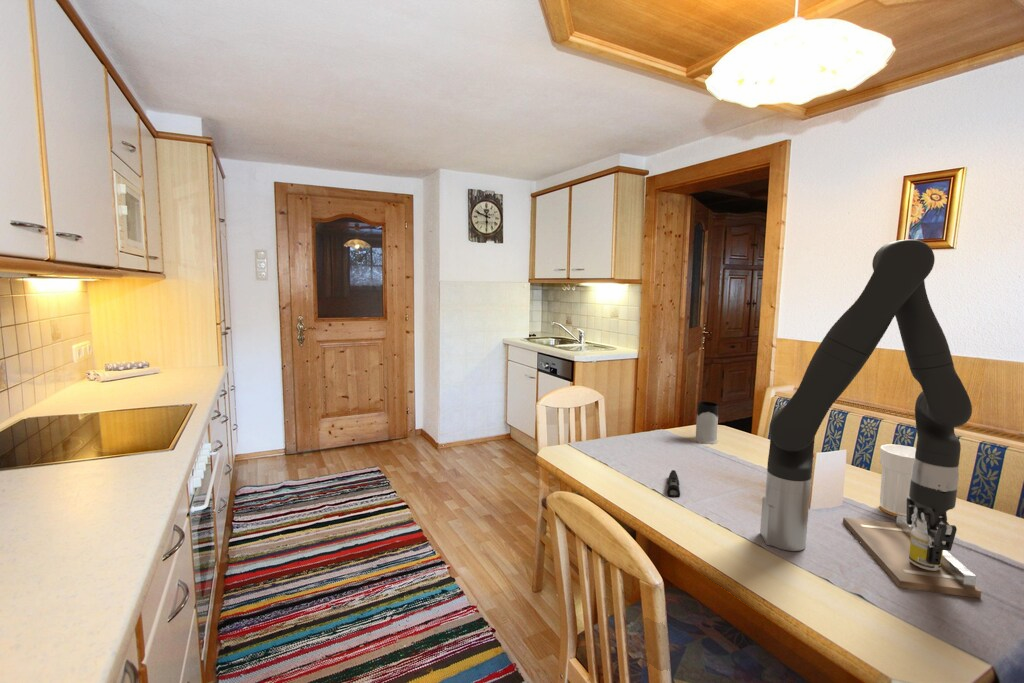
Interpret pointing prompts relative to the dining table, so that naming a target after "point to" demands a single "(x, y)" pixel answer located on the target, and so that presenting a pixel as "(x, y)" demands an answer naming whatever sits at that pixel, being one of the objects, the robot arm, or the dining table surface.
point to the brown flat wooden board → (903, 558)
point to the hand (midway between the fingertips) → (924, 555)
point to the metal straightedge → (945, 560)
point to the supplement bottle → (921, 547)
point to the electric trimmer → (673, 485)
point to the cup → (896, 478)
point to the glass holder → (707, 423)
